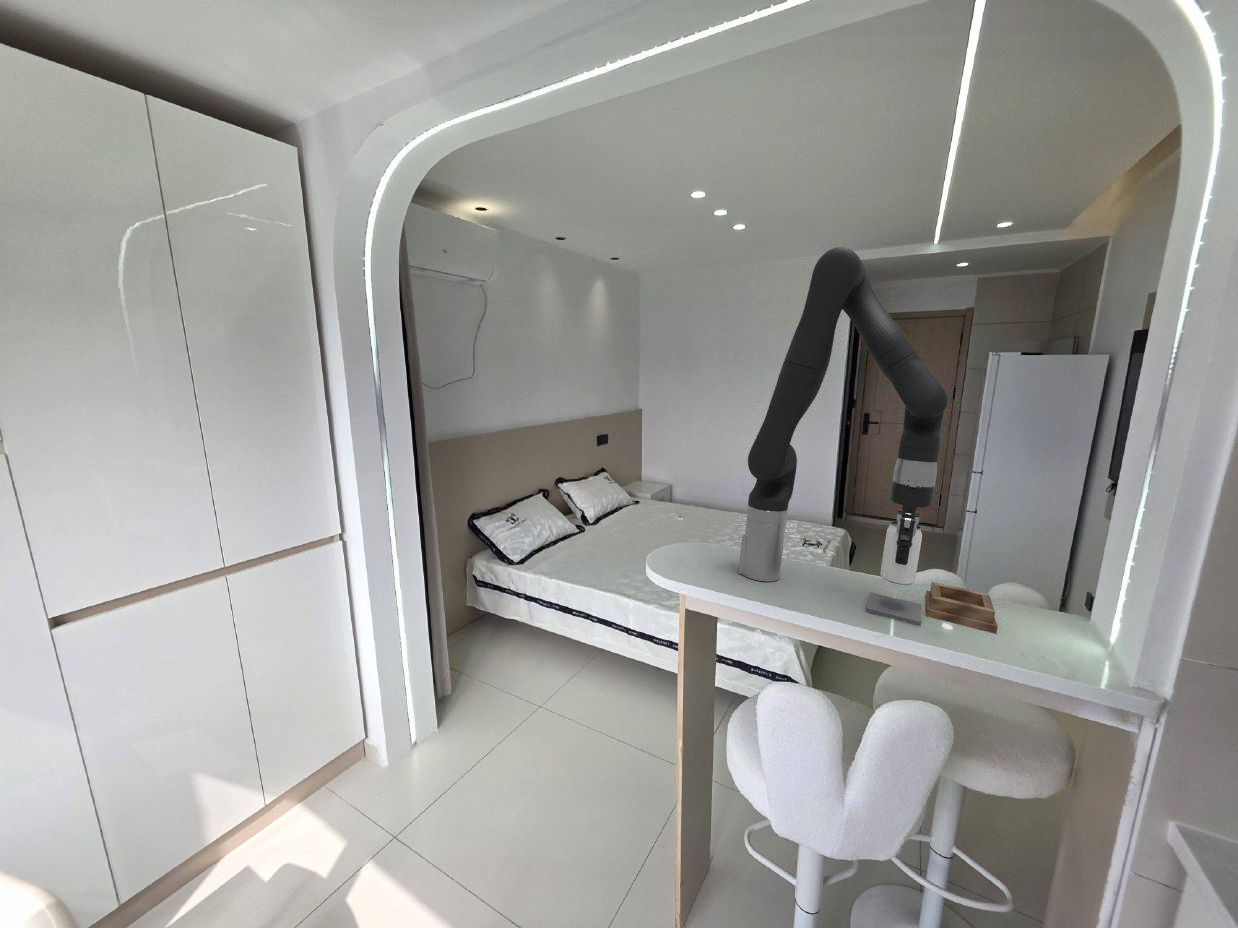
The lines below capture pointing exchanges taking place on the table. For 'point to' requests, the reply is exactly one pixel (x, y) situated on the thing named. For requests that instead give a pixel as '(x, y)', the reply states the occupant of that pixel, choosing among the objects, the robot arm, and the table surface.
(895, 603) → the mat
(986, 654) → the table surface
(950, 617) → the socket block
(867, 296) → the robot arm
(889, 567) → the can
